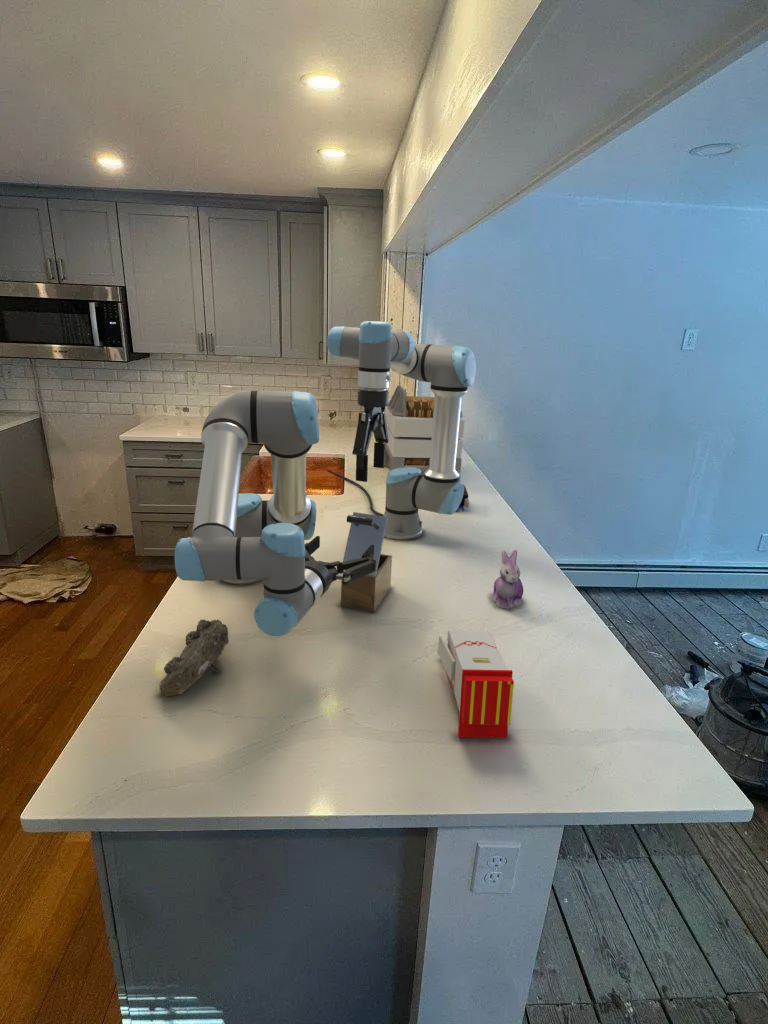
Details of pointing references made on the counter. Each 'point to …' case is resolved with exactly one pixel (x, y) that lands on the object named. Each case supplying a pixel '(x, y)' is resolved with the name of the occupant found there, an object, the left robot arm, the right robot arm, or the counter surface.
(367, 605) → the chest
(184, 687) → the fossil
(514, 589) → the figurine
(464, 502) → the figurine character
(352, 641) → the counter surface
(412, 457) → the white slatted crate
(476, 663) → the toy
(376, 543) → the lid
